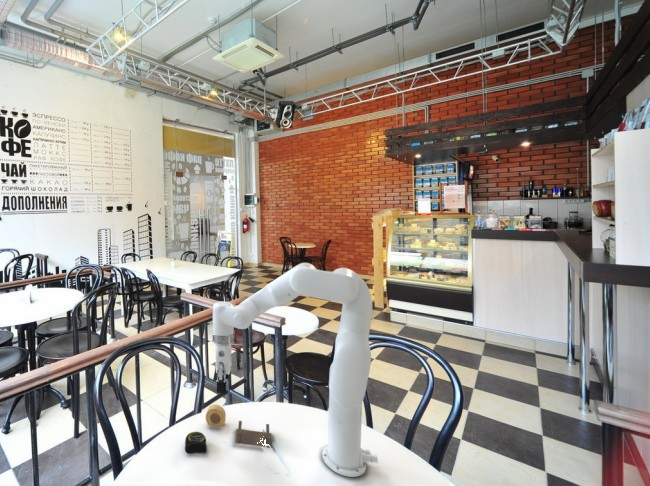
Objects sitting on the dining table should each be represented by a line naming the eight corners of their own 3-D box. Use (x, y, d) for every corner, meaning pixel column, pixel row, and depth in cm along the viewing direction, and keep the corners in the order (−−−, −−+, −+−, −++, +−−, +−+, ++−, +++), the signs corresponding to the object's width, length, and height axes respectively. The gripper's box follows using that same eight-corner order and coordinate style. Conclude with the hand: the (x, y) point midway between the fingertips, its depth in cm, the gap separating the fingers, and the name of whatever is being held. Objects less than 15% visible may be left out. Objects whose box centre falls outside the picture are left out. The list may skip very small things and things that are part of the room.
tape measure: (184, 457, 102) (184, 445, 102) (185, 441, 109) (185, 430, 109) (206, 457, 103) (206, 445, 103) (206, 441, 109) (206, 430, 109)
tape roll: (228, 420, 118) (221, 402, 118) (228, 425, 116) (220, 406, 116) (211, 426, 119) (203, 407, 119) (209, 430, 116) (202, 411, 117)
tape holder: (271, 435, 113) (271, 424, 113) (271, 450, 106) (272, 438, 106) (236, 431, 115) (236, 420, 115) (234, 445, 108) (235, 433, 108)
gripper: (231, 348, 108) (231, 400, 108) (235, 329, 125) (235, 374, 125) (209, 346, 109) (209, 398, 109) (215, 328, 126) (215, 372, 126)
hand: (223, 385), depth 117 cm, fingers open, 9 cm apart
